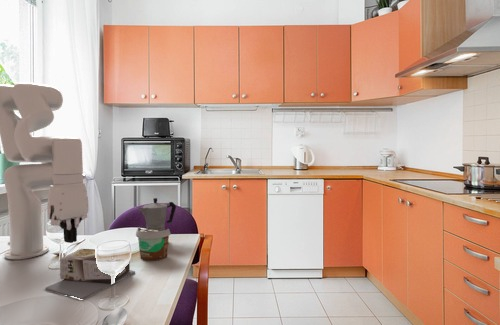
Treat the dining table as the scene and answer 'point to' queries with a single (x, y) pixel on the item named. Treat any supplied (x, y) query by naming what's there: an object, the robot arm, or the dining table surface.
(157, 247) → the food container
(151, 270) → the dining table surface
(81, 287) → the mat
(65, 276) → the coffee box
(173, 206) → the coffeepot
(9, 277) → the dining table surface
